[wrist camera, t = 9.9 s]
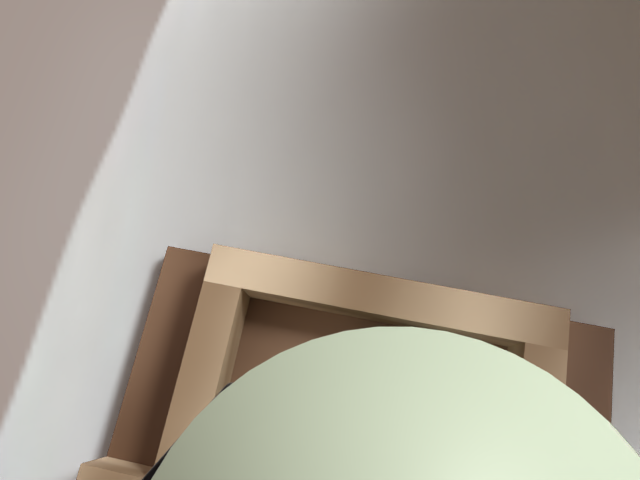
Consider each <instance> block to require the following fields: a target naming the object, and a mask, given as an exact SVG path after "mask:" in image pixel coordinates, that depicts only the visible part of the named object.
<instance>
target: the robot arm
mask: <svg viewBox="0 0 640 480" xmlns="http://www.w3.org/2000/svg"><path fill="white" fill-rule="evenodd" d="M232 383H234V382H230V383H228V384H226V385H225V386H224V388H223V389H222V390H221V391H220V392H219V393H218V394H217V395H216V397H217V396H218V395H219V394H220V393H221V392H222V391H223V390H224V389H226V388H227V387H228V386H230V385H231V384H232ZM216 397H215V398H216ZM215 398H214V399H215ZM214 399H213V400H214ZM177 440H178V439H177ZM177 440H176V441H177ZM176 441H175V442H176ZM173 445H174V444H173ZM173 445H172V446H173ZM172 446H171V447H172ZM171 447H170V448H171ZM170 448H169V449H168V450H167V451H166V453H165V454H164V455H163V456H162V457H161V458H160V459H159V460H158V462H157V463H156V464H155V465H154V466H153V467H152V468H151V469H150V471H149V472H148V473H147V474H146V475H145V476H144V477H143V478H142V480H151V479H152V477H153V476H154V474H155V473H156V471H157V469H158V468H159V466H160V464H161V463H162V461H163V460H164V458H165V456H166V455H167V453H168V452H169V450H170Z"/></svg>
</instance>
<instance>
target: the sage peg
mask: <svg viewBox="0 0 640 480" xmlns="http://www.w3.org/2000/svg"><path fill="white" fill-rule="evenodd" d="M151 480H640V457H639V455H638V454H637V453H636V452H635V450H634V449H633V448H632V447H631V446H630V445H629V444H628V443H627V441H626V440H625V439H624V438H623V437H622V436H621V435H620V434H619V432H618V431H617V430H616V429H615V428H614V427H613V426H612V425H611V423H610V422H609V421H608V420H606V419H605V418H604V417H603V416H602V415H601V414H600V413H599V412H598V411H597V410H595V409H594V408H593V407H592V406H591V405H590V404H589V403H588V402H587V401H585V400H584V399H583V398H582V397H581V396H580V395H579V394H577V393H576V392H574V391H573V390H572V389H570V388H569V387H567V386H566V385H565V384H563V383H562V382H561V381H559V380H558V379H556V378H555V377H554V376H552V375H551V374H549V373H548V372H546V371H544V370H543V369H541V368H539V367H537V366H535V365H534V364H532V363H530V362H528V361H526V360H525V359H523V358H521V357H519V356H517V355H515V354H513V353H511V352H508V351H506V350H503V349H501V348H498V347H496V346H493V345H491V344H489V343H486V342H484V341H481V340H477V339H474V338H470V337H466V336H462V335H459V334H455V333H451V332H447V331H441V330H433V329H426V328H418V327H371V328H364V329H356V330H348V331H343V332H339V333H335V334H331V335H328V336H324V337H320V338H316V339H313V340H310V341H307V342H305V343H303V344H300V345H298V346H295V347H293V348H291V349H288V350H286V351H283V352H281V353H279V354H277V355H275V356H274V357H272V358H270V359H268V360H267V361H265V362H263V363H262V364H260V365H258V366H256V367H255V368H253V369H251V370H249V371H248V372H247V373H245V374H244V375H243V376H242V377H240V378H239V379H238V380H236V381H235V382H234V383H232V384H231V385H230V386H228V387H227V388H226V389H224V390H223V391H222V392H221V393H220V394H219V395H218V396H217V397H216V398H215V399H214V400H212V401H211V402H210V403H209V404H208V405H207V406H206V407H205V408H204V409H203V410H202V411H201V412H200V413H199V414H198V415H197V416H196V417H195V418H194V419H193V421H192V422H191V423H190V424H189V426H188V427H187V428H186V429H185V431H184V432H183V433H182V434H181V436H180V437H179V438H178V440H177V441H176V442H175V443H174V445H173V446H172V447H171V448H170V450H169V452H168V453H167V455H166V456H165V458H164V460H163V461H162V463H161V464H160V466H159V468H158V469H157V471H156V473H155V474H154V476H153V477H152V479H151Z"/></svg>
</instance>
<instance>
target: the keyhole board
mask: <svg viewBox="0 0 640 480" xmlns="http://www.w3.org/2000/svg"><path fill="white" fill-rule="evenodd" d="M570 310H571V309H565V308H560V307H554V306H549V305H543V304H538V303H533V302H527V301H522V300H516V299H511V298H505V297H500V296H494V295H489V294H484V293H478V292H473V291H467V290H462V289H456V288H451V287H445V286H440V285H435V284H429V283H424V282H418V281H413V280H407V279H402V278H396V277H391V276H385V275H380V274H375V273H369V272H364V271H358V270H353V269H347V268H342V267H336V266H331V265H326V264H320V263H315V262H309V261H304V260H298V259H293V258H287V257H282V256H277V255H271V254H266V253H260V252H255V251H249V250H244V249H238V248H233V247H228V246H222V245H217V244H213V247H212V251H211V254H207V253H202V252H197V251H191V250H186V249H180V248H175V247H170V246H168V248H167V251H166V255H165V258H164V262H163V265H162V268H161V272H160V275H159V279H158V282H157V285H156V289H155V292H154V296H153V299H152V303H151V306H150V309H149V313H148V316H147V320H146V323H145V327H144V330H143V333H142V337H141V340H140V344H139V347H138V350H137V354H136V357H135V361H134V364H133V368H132V371H131V374H130V378H129V381H128V385H127V388H126V392H125V395H124V398H123V402H122V405H121V409H120V412H119V415H118V419H117V422H116V426H115V429H114V433H113V436H112V439H111V443H110V446H109V450H108V453H107V456H106V457H103V458H99V459H96V460H92V461H89V462H85V463H82V464H81V465H80V469H79V472H78V475H77V478H76V480H142V478H143V477H144V476H145V475H146V474H147V473H148V472H149V471H150V469H151V468H152V467H153V466H154V465H155V464H156V463H157V462H158V460H159V459H160V458H161V457H162V456H163V455H164V454H165V453H166V451H167V450H168V449H169V448H170V447H171V446H172V445H173V444H174V443H175V441H176V440H177V439H178V438H179V437H180V436H181V434H182V433H183V432H184V431H185V429H186V428H187V427H188V426H189V424H190V423H191V422H192V421H193V419H194V418H195V417H196V416H197V415H198V414H199V413H200V412H201V411H202V410H203V409H204V408H205V407H206V406H207V405H208V404H209V403H210V402H211V401H212V400H213V399H214V398H215V397H216V395H217V394H218V393H219V392H220V391H221V390H222V389H223V388H224V386H225V385H226V384H228V383H230V382H235V381H236V380H238V379H239V378H240V377H242V376H243V375H244V374H245V373H247V372H248V371H249V370H251V369H253V368H255V367H256V366H258V365H260V364H262V363H263V362H265V361H267V360H268V359H270V358H272V357H274V356H275V355H277V354H279V353H281V352H283V351H286V350H288V349H291V348H293V347H295V346H298V345H300V344H303V343H305V342H307V341H310V340H313V339H316V338H320V337H324V336H328V335H331V334H335V333H339V332H343V331H348V330H356V329H364V328H371V327H418V328H426V329H433V330H441V331H447V332H451V333H455V334H459V335H462V336H466V337H470V338H474V339H477V340H481V341H484V342H486V343H489V344H491V345H493V346H496V347H498V348H501V349H503V350H506V351H508V352H511V353H513V354H515V355H517V356H519V357H521V358H523V359H525V360H526V361H528V362H530V363H532V364H534V365H535V366H537V367H539V368H541V369H543V370H544V371H546V372H548V373H549V374H551V375H552V376H554V377H555V378H556V379H558V380H559V381H561V382H562V383H563V384H565V385H566V386H567V387H569V388H570V389H572V390H573V391H574V392H576V393H577V394H579V395H580V396H581V397H582V398H583V399H584V400H585V401H587V402H588V403H589V404H590V405H591V406H592V407H593V408H594V409H595V410H597V411H598V412H599V413H600V414H601V415H602V416H603V417H604V418H605V419H606V420H608V421H609V422H610V423H611V412H612V385H613V358H614V331H615V329H611V328H606V327H601V326H595V325H590V324H584V323H579V322H574V321H570Z"/></svg>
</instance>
